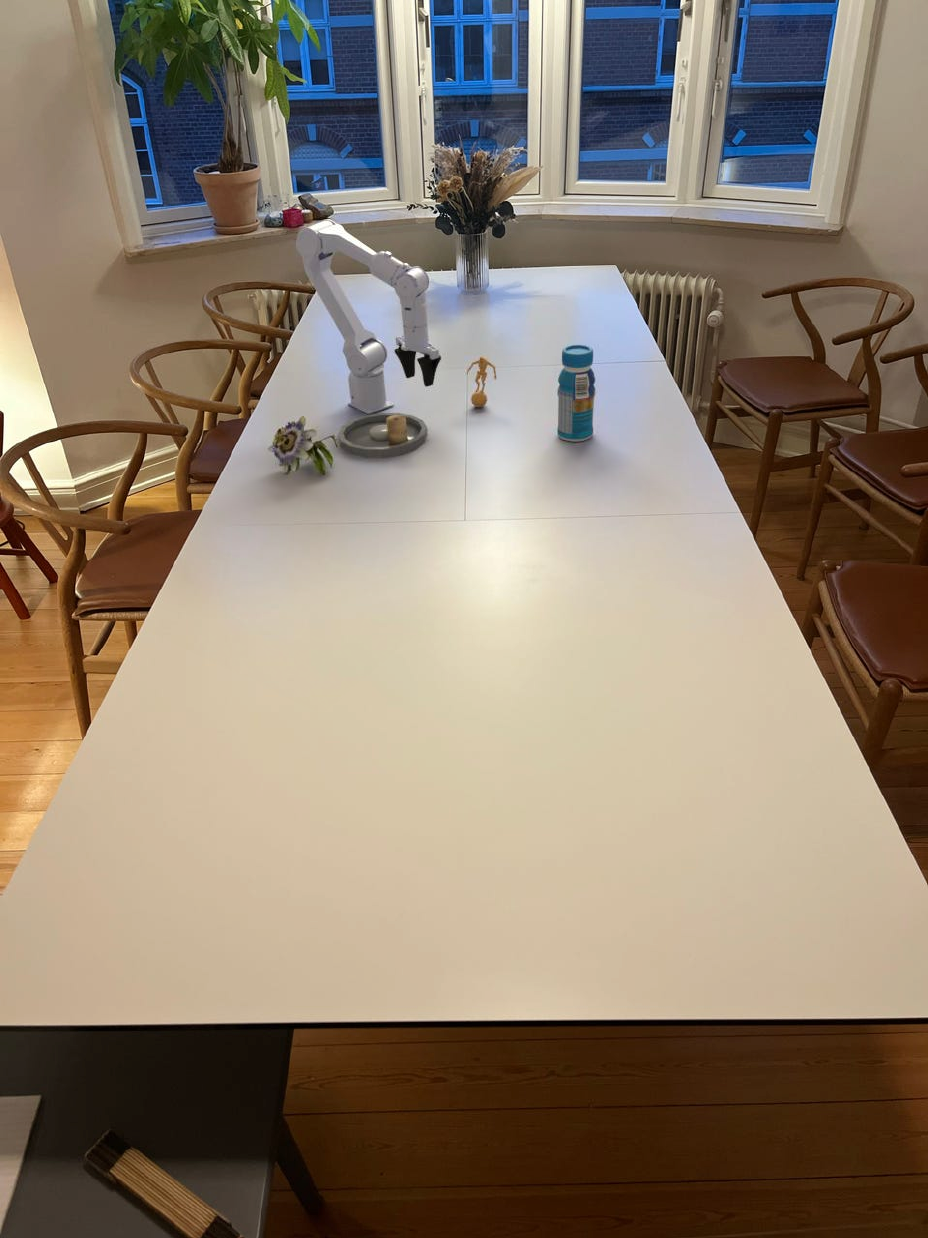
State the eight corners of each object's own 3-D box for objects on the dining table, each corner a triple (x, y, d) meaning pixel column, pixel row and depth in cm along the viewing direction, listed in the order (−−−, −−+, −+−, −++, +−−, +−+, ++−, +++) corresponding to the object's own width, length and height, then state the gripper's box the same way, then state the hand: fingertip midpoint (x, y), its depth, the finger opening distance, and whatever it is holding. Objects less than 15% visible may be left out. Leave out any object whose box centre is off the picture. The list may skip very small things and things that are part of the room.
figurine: (461, 406, 218) (458, 359, 211) (473, 398, 222) (471, 351, 215) (490, 412, 214) (488, 364, 207) (501, 403, 218) (500, 356, 211)
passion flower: (292, 497, 196) (253, 448, 192) (327, 467, 202) (289, 419, 198) (318, 481, 186) (276, 430, 182) (354, 450, 192) (314, 400, 188)
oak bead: (385, 443, 201) (382, 418, 197) (399, 437, 203) (397, 412, 200) (396, 449, 198) (394, 424, 194) (411, 443, 200) (409, 418, 197)
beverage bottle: (550, 439, 200) (552, 353, 188) (565, 425, 206) (566, 340, 194) (585, 445, 197) (588, 357, 185) (598, 430, 202) (603, 345, 191)
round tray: (323, 437, 206) (322, 429, 205) (394, 413, 216) (393, 405, 215) (371, 465, 193) (370, 457, 192) (444, 438, 203) (443, 430, 202)
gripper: (383, 321, 205) (388, 377, 213) (419, 335, 196) (424, 393, 204) (407, 314, 208) (412, 370, 216) (444, 327, 199) (448, 385, 207)
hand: (419, 381), depth 210 cm, fingers open, 7 cm apart
